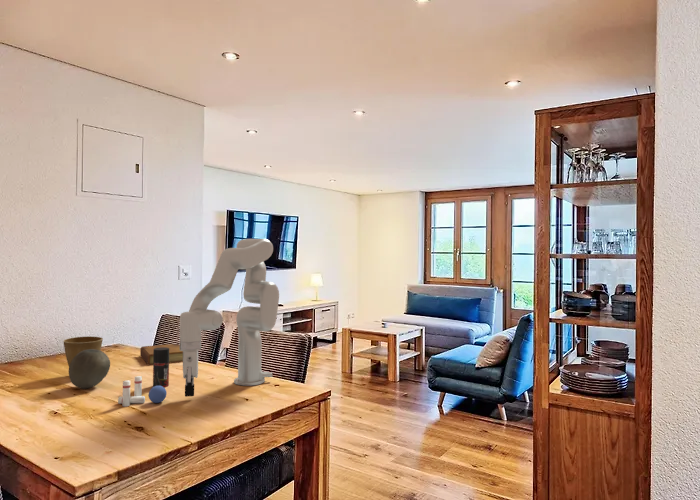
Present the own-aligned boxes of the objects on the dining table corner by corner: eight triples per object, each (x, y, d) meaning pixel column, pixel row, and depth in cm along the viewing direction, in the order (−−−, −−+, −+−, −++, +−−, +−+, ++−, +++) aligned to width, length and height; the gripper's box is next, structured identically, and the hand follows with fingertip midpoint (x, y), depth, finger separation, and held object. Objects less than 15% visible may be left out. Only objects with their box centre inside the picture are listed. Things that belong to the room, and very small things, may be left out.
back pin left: (130, 404, 171) (131, 380, 172) (129, 406, 169) (129, 381, 169) (122, 404, 171) (123, 380, 171) (121, 406, 168) (122, 382, 168)
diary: (140, 357, 251) (140, 346, 251) (177, 354, 261) (177, 343, 261) (148, 366, 232) (148, 354, 232) (188, 362, 241) (188, 350, 242)
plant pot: (54, 378, 205) (55, 340, 205) (85, 370, 219) (86, 335, 219) (79, 382, 200) (80, 343, 200) (109, 374, 213) (110, 337, 214)
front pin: (145, 394, 174) (119, 395, 173) (143, 397, 172) (117, 398, 170) (145, 401, 175) (120, 401, 173) (143, 404, 172) (117, 405, 171)
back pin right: (142, 399, 178) (142, 375, 178) (141, 401, 175) (141, 377, 175) (134, 399, 177) (135, 376, 177) (133, 401, 174) (133, 377, 175)
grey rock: (81, 394, 182) (81, 354, 182) (61, 388, 190) (62, 350, 190) (116, 386, 194) (117, 348, 194) (96, 381, 202) (97, 345, 202)
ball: (146, 395, 175) (162, 401, 177) (144, 402, 170) (161, 408, 172) (153, 380, 176) (169, 386, 178) (152, 387, 170) (169, 392, 172)
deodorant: (163, 388, 192) (163, 350, 192) (149, 387, 193) (150, 349, 193) (171, 384, 198) (172, 347, 198) (158, 383, 199) (159, 347, 199)
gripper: (200, 349, 172) (199, 401, 171) (201, 341, 186) (200, 389, 186) (178, 349, 170) (177, 402, 169) (180, 342, 184) (180, 390, 184)
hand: (189, 395), depth 178 cm, fingers closed
